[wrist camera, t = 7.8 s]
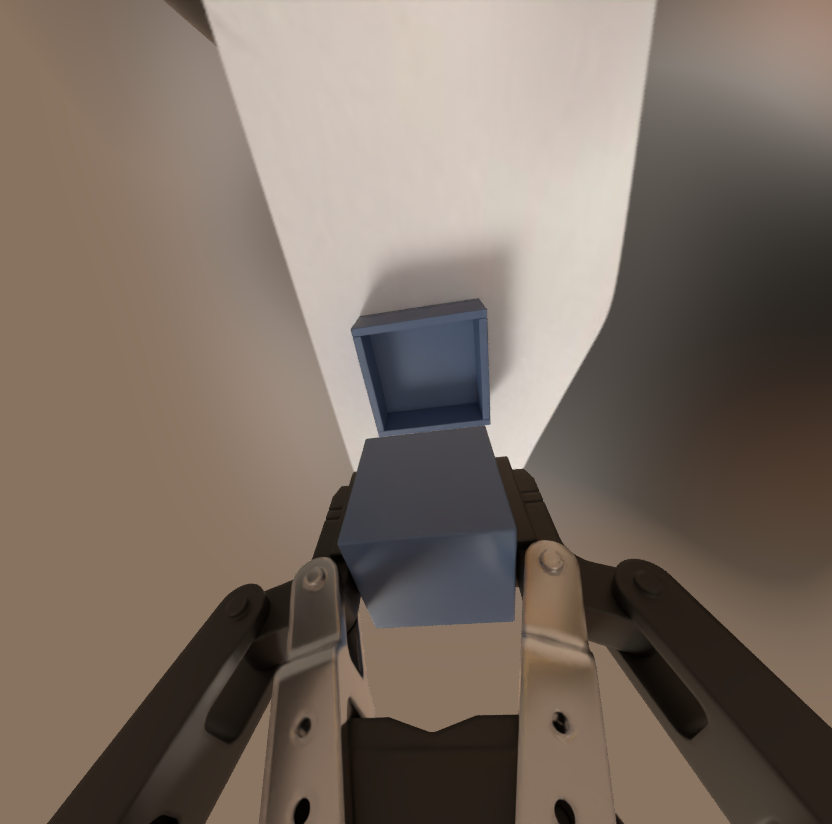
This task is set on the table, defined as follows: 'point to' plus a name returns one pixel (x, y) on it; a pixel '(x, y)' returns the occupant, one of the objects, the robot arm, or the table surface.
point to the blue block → (431, 531)
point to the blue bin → (426, 367)
